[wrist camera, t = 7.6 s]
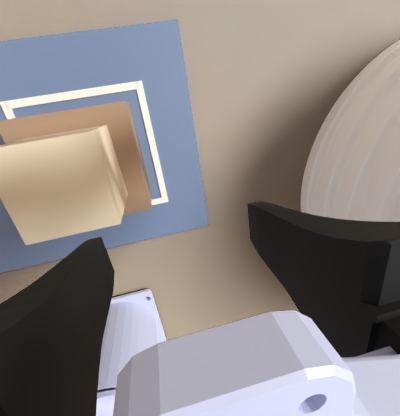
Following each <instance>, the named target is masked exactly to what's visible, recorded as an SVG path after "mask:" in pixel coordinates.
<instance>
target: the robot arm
mask: <svg viewBox="0 0 400 416" xmlns="http://www.w3.org/2000/svg"><path fill="white" fill-rule="evenodd" d="M248 215H249V229H250V239H251V241H252V243H253V245H254V247H255V248H256V250H257V252H258V254H259V255H260V256H261V258H262V259H263V260H264V262H265V263H266V264H267V266H268V267H269V268H270V269H271V271H272V272H273V273H274V275H275V276H276V277H277V278H278V280H279V281H280V282H281V284H282V285H283V286H284V288H285V289H286V291H287V292H288V293H289V295H290V297H291V298H292V300H293V302H294V303H295V305H296V306H297V308H298V310H299V311H300V313H299V312H297V311H295V310H286V311H272V312H266V313H263V314H259V315H255V316H252V317H248V318H245V319H241V320H238V321H234V322H231V323H227V324H224V325H220V326H217V327H213V328H209V329H206V330H202V331H199V332H195V333H192V334H188V335H185V336H181V337H178V338H174V339H171V340H166V337H165V333H164V330H163V327H162V324H161V320H160V317H159V314H158V311H157V307H156V304H155V301H154V297H153V294H152V291H151V290H150V289H145V290H141V291H137V292H133V293H129V294H125V295H121V296H117V297H113V298H112V294H113V286H114V269H113V267H112V264H111V261H110V259H109V256H108V253H107V251H106V248H105V245H104V243H103V240H102V237H97V238H93V239H88V240H86V241H85V242H83V243H82V244H81V245H80V246H78V247H77V248H76V249H75V250H74V251H72V252H71V253H70V254H69V255H68V256H66V257H65V258H64V259H63V260H62V261H60V262H59V263H58V264H57V265H56V266H54V267H53V268H52V269H50V270H49V271H48V272H47V273H45V274H44V275H43V276H41V277H40V278H39V279H38V280H36V281H35V282H33V283H32V284H31V285H29V286H28V287H26V288H25V289H23V290H22V291H20V292H19V293H17V294H16V295H14V296H13V297H11V298H9V299H8V300H6V301H4V302H3V303H1V304H0V416H400V222H375V221H356V220H344V219H336V218H329V217H323V216H317V215H312V214H308V213H303V212H299V211H295V210H291V209H288V208H284V207H281V206H277V205H274V204H270V203H266V202H260V201H259V202H254V203H250V204H248ZM146 297H150V298H146Z"/></svg>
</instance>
